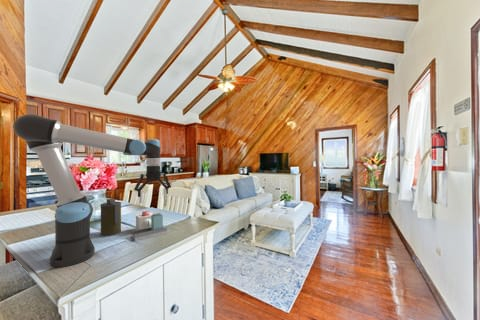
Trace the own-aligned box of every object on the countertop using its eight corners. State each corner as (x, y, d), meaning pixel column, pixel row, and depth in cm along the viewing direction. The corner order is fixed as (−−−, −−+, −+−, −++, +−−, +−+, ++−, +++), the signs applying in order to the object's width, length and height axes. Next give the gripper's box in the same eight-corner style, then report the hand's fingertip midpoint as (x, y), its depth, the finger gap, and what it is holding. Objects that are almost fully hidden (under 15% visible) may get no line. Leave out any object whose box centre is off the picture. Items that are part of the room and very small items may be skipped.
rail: (134, 240, 105) (134, 234, 105) (131, 236, 110) (131, 231, 110) (166, 233, 116) (166, 227, 116) (162, 229, 121) (162, 224, 121)
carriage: (153, 232, 112) (153, 215, 112) (151, 230, 116) (151, 214, 116) (162, 230, 115) (162, 214, 115) (160, 228, 119) (160, 212, 119)
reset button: (143, 219, 119) (143, 212, 119) (141, 218, 122) (141, 211, 122) (149, 218, 122) (149, 211, 122) (147, 217, 124) (147, 210, 124)
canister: (96, 234, 114) (96, 199, 114) (115, 228, 123) (114, 196, 123) (107, 237, 109) (107, 201, 109) (125, 231, 118) (125, 198, 118)
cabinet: (139, 233, 115) (139, 218, 115) (135, 229, 122) (135, 214, 122) (155, 229, 121) (155, 215, 121) (151, 226, 128) (151, 212, 128)
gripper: (130, 166, 107) (130, 205, 107) (176, 165, 122) (176, 199, 122) (128, 165, 113) (128, 202, 113) (172, 164, 128) (172, 197, 128)
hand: (153, 201), depth 117 cm, fingers open, 13 cm apart
